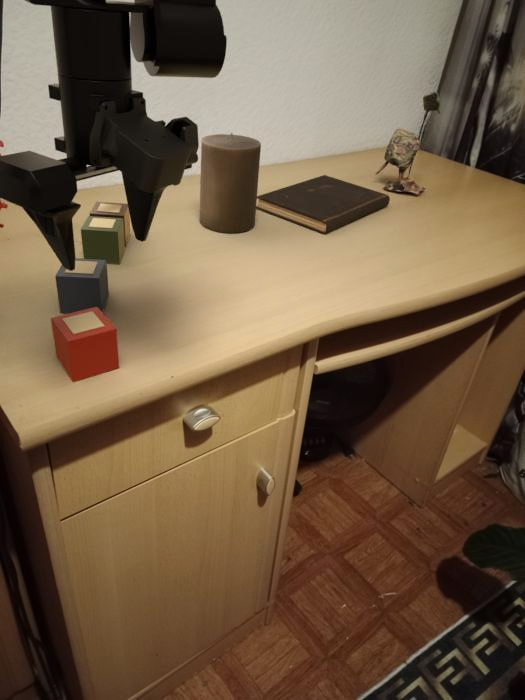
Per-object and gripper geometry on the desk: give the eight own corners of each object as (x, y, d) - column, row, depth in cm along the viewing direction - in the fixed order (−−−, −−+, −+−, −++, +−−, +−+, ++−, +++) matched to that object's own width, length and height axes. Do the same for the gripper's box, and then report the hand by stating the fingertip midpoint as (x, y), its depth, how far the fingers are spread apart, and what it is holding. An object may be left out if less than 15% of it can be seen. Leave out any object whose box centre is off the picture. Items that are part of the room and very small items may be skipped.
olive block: (84, 262, 77) (80, 228, 74) (90, 247, 81) (87, 215, 78) (119, 264, 77) (117, 230, 75) (124, 249, 82) (123, 217, 79)
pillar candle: (254, 235, 91) (263, 142, 82) (196, 231, 90) (198, 137, 82) (254, 214, 99) (262, 128, 90) (200, 210, 98) (203, 122, 90)
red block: (73, 382, 55) (67, 340, 52) (56, 357, 58) (50, 316, 55) (119, 368, 58) (116, 327, 55) (100, 344, 61) (97, 305, 58)
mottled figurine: (384, 178, 125) (405, 84, 114) (429, 192, 120) (456, 94, 109) (367, 185, 120) (387, 86, 109) (413, 199, 114) (440, 97, 103)
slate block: (59, 313, 65) (54, 275, 63) (69, 293, 70) (65, 256, 67) (102, 315, 66) (99, 277, 63) (109, 295, 70) (106, 259, 67)
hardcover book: (254, 208, 101) (256, 196, 100) (322, 185, 117) (324, 174, 116) (325, 235, 94) (327, 222, 92) (388, 206, 109) (390, 195, 108)
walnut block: (92, 245, 82) (89, 212, 79) (98, 232, 86) (95, 200, 83) (125, 247, 82) (124, 214, 79) (130, 234, 86) (128, 203, 84)
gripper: (73, 106, 34) (92, 321, 42) (243, 84, 47) (231, 250, 56) (-38, 75, 38) (0, 275, 47) (146, 63, 52) (149, 220, 60)
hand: (107, 253), depth 52 cm, fingers open, 9 cm apart
